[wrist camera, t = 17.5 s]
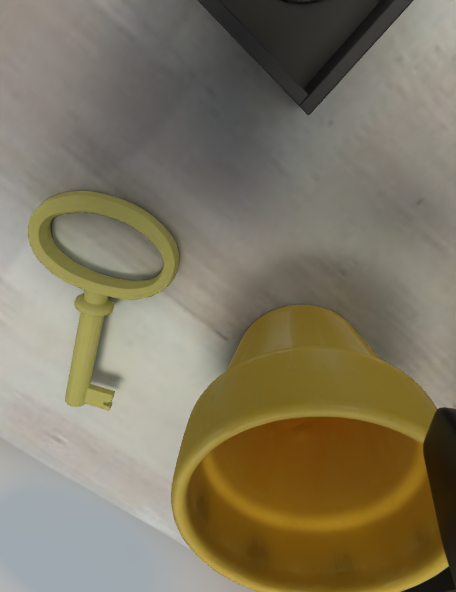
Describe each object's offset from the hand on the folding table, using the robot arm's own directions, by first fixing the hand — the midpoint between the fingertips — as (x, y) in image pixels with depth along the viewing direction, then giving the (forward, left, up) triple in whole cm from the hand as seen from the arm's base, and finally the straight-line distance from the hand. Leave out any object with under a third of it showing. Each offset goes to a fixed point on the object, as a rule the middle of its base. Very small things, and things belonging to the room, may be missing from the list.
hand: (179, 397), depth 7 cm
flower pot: (-4, +8, -13) cm, 16 cm away
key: (+7, +5, -13) cm, 16 cm away
